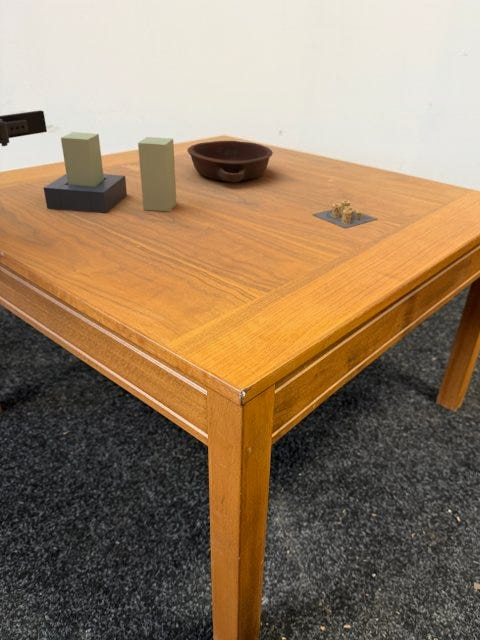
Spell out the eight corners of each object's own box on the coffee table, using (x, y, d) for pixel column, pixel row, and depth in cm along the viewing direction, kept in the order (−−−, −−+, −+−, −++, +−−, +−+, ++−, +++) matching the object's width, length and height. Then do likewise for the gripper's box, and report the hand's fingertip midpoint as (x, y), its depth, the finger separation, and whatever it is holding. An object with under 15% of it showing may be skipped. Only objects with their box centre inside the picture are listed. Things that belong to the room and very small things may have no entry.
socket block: (47, 208, 93) (43, 187, 91) (72, 190, 102) (69, 171, 100) (106, 212, 92) (103, 192, 90) (127, 194, 101) (125, 175, 99)
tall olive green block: (71, 204, 95) (60, 137, 89) (81, 196, 99) (72, 132, 93) (96, 206, 95) (87, 139, 89) (106, 198, 98) (98, 133, 93)
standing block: (143, 209, 94) (137, 142, 88) (151, 201, 98) (146, 136, 92) (169, 211, 93) (165, 144, 88) (176, 203, 97) (173, 138, 91)
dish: (184, 188, 105) (183, 161, 102) (191, 159, 124) (190, 136, 121) (275, 190, 106) (276, 163, 104) (268, 161, 125) (269, 138, 122)
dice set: (346, 224, 91) (347, 213, 90) (324, 215, 94) (325, 204, 93) (366, 218, 94) (368, 207, 93) (345, 210, 97) (346, 199, 96)
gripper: (-177, 149, 74) (-24, 127, 88) (-87, 189, 61) (73, 156, 76) (-200, 88, 69) (-37, 75, 84) (-109, 118, 57) (64, 97, 72)
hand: (16, 114), depth 80 cm, fingers open, 13 cm apart
